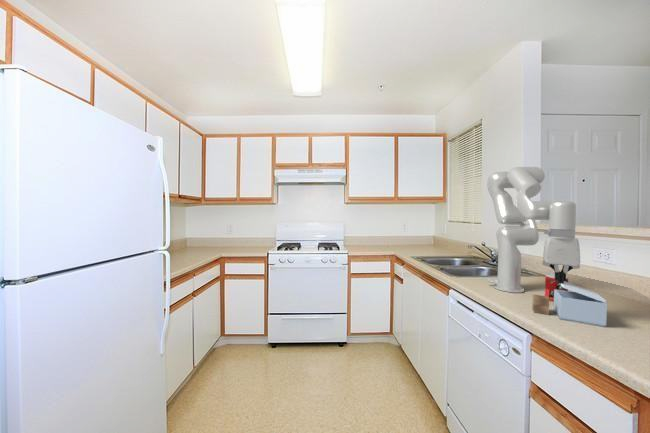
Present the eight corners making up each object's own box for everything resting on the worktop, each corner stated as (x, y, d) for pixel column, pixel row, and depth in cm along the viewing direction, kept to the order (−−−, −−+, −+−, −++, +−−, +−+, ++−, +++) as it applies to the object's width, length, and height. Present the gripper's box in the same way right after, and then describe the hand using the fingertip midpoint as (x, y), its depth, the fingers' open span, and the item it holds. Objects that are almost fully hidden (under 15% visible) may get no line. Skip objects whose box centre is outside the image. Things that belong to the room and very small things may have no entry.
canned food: (549, 301, 117) (550, 276, 117) (541, 296, 125) (542, 272, 124) (571, 304, 115) (572, 278, 114) (562, 298, 122) (563, 274, 122)
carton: (559, 319, 98) (560, 297, 98) (553, 309, 109) (554, 289, 108) (606, 327, 92) (607, 303, 92) (594, 315, 102) (595, 294, 102)
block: (533, 312, 104) (534, 297, 104) (532, 309, 108) (532, 294, 108) (548, 315, 102) (549, 299, 102) (546, 311, 106) (547, 296, 106)
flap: (563, 287, 98) (563, 285, 98) (556, 280, 108) (557, 279, 107) (605, 302, 92) (606, 300, 92) (594, 294, 102) (595, 292, 102)
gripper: (537, 233, 103) (536, 281, 103) (591, 236, 95) (590, 288, 96) (535, 232, 109) (533, 277, 110) (585, 234, 101) (583, 283, 102)
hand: (560, 282), depth 103 cm, fingers closed
